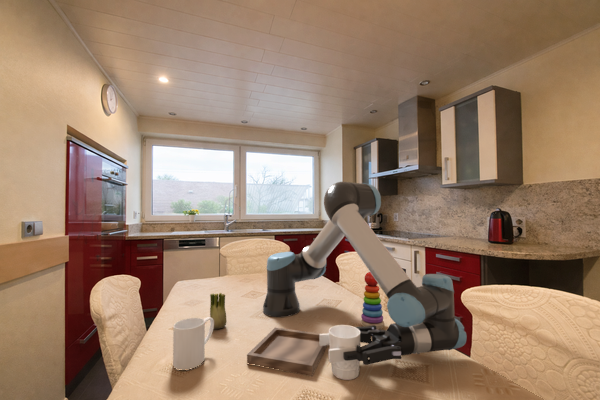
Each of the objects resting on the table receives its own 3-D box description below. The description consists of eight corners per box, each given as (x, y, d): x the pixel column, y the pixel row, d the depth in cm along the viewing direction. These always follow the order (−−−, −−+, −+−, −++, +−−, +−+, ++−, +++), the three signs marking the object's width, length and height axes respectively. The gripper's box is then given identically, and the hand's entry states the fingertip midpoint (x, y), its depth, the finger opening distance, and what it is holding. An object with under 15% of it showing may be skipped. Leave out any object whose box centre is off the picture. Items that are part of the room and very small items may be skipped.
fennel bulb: (208, 327, 96) (208, 293, 96) (220, 323, 99) (220, 290, 100) (216, 332, 92) (216, 296, 92) (229, 327, 95) (229, 293, 96)
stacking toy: (385, 331, 90) (383, 274, 91) (361, 329, 91) (359, 274, 93) (383, 322, 98) (381, 270, 99) (360, 320, 99) (359, 269, 100)
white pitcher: (185, 374, 67) (186, 331, 68) (166, 366, 71) (167, 325, 72) (222, 352, 77) (222, 315, 78) (203, 346, 81) (203, 311, 82)
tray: (247, 364, 71) (247, 354, 71) (275, 335, 88) (274, 327, 88) (312, 376, 65) (311, 365, 66) (328, 342, 82) (328, 334, 83)
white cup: (327, 364, 70) (326, 325, 71) (356, 362, 71) (355, 324, 72) (333, 382, 63) (332, 339, 63) (366, 380, 63) (364, 337, 64)
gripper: (434, 375, 60) (338, 389, 56) (388, 335, 80) (314, 343, 76) (433, 340, 61) (337, 352, 57) (387, 310, 81) (313, 316, 77)
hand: (324, 347), depth 66 cm, fingers closed on white cup, 7 cm apart
